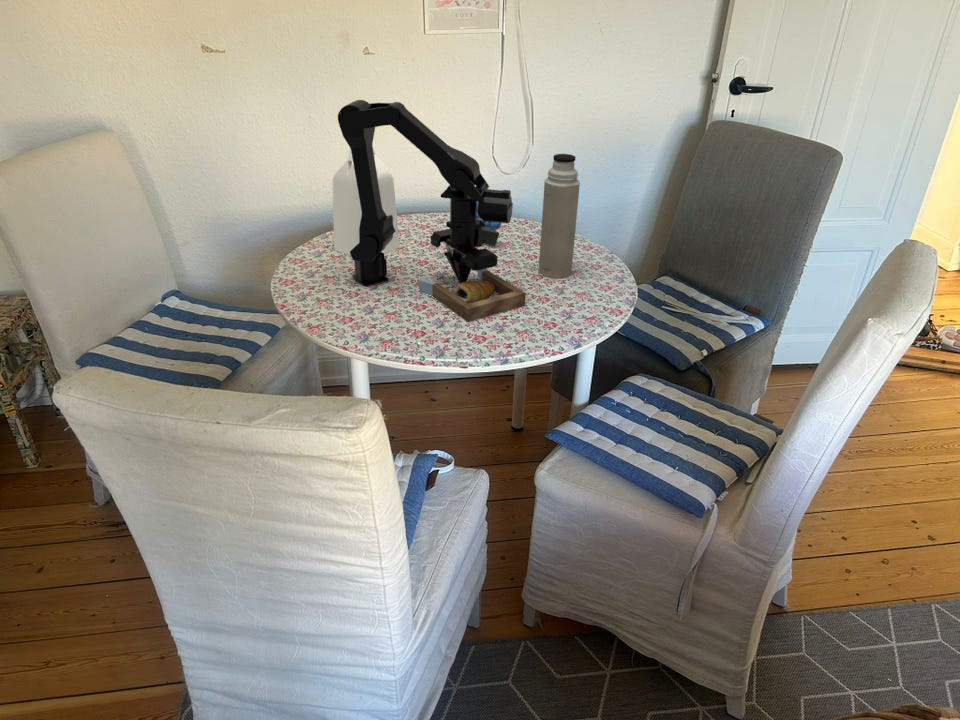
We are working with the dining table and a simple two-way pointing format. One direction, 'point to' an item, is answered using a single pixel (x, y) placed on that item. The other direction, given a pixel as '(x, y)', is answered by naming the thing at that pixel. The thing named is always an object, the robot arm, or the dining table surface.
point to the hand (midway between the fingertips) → (462, 284)
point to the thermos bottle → (559, 218)
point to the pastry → (474, 290)
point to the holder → (469, 312)
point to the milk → (350, 208)
